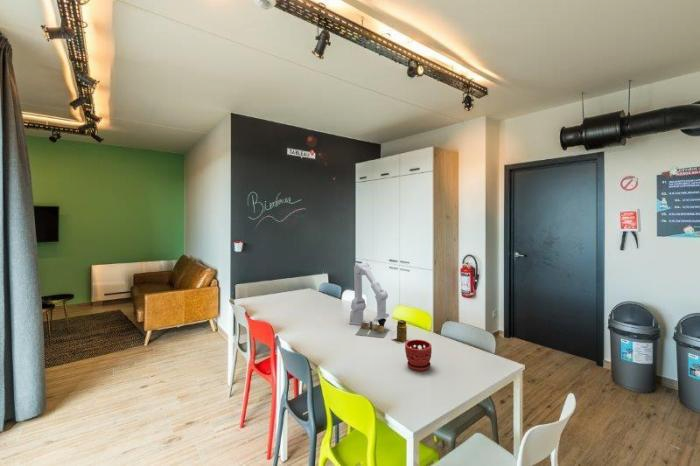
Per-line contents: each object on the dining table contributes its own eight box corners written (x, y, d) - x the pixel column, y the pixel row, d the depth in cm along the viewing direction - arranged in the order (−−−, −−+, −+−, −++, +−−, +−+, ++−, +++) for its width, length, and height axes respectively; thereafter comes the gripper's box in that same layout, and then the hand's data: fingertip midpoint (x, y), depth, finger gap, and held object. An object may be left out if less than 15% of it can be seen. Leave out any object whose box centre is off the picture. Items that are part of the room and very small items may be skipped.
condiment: (409, 340, 199) (409, 321, 198) (399, 343, 194) (399, 324, 194) (401, 337, 205) (401, 318, 204) (391, 340, 200) (391, 321, 200)
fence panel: (372, 329, 217) (372, 324, 217) (373, 329, 218) (373, 323, 218) (383, 332, 211) (383, 326, 211) (384, 332, 212) (384, 326, 212)
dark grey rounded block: (360, 328, 220) (360, 321, 219) (361, 328, 222) (361, 320, 221) (372, 330, 217) (372, 322, 217) (372, 329, 219) (372, 321, 219)
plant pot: (412, 359, 173) (412, 337, 173) (435, 366, 165) (435, 343, 164) (400, 367, 163) (400, 344, 162) (424, 375, 155) (424, 351, 154)
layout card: (355, 335, 209) (355, 334, 209) (362, 326, 225) (362, 326, 225) (383, 338, 203) (383, 337, 203) (388, 329, 219) (388, 328, 219)
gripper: (380, 313, 206) (380, 333, 206) (392, 308, 217) (392, 327, 217) (371, 311, 210) (371, 331, 211) (383, 306, 221) (383, 325, 222)
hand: (381, 329), depth 214 cm, fingers closed, pressing on fence panel
